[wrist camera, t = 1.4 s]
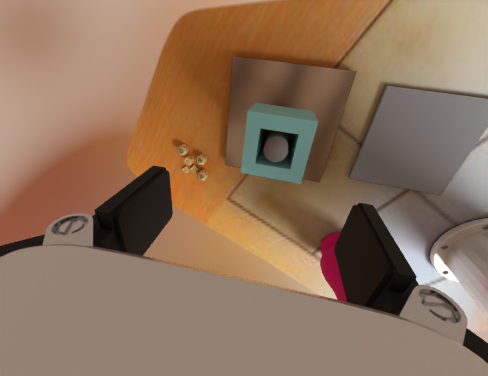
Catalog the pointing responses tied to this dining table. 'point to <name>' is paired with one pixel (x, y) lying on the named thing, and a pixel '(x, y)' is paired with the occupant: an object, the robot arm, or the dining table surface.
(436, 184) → the mat
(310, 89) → the stand
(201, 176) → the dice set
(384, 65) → the dining table surface
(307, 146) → the collar
